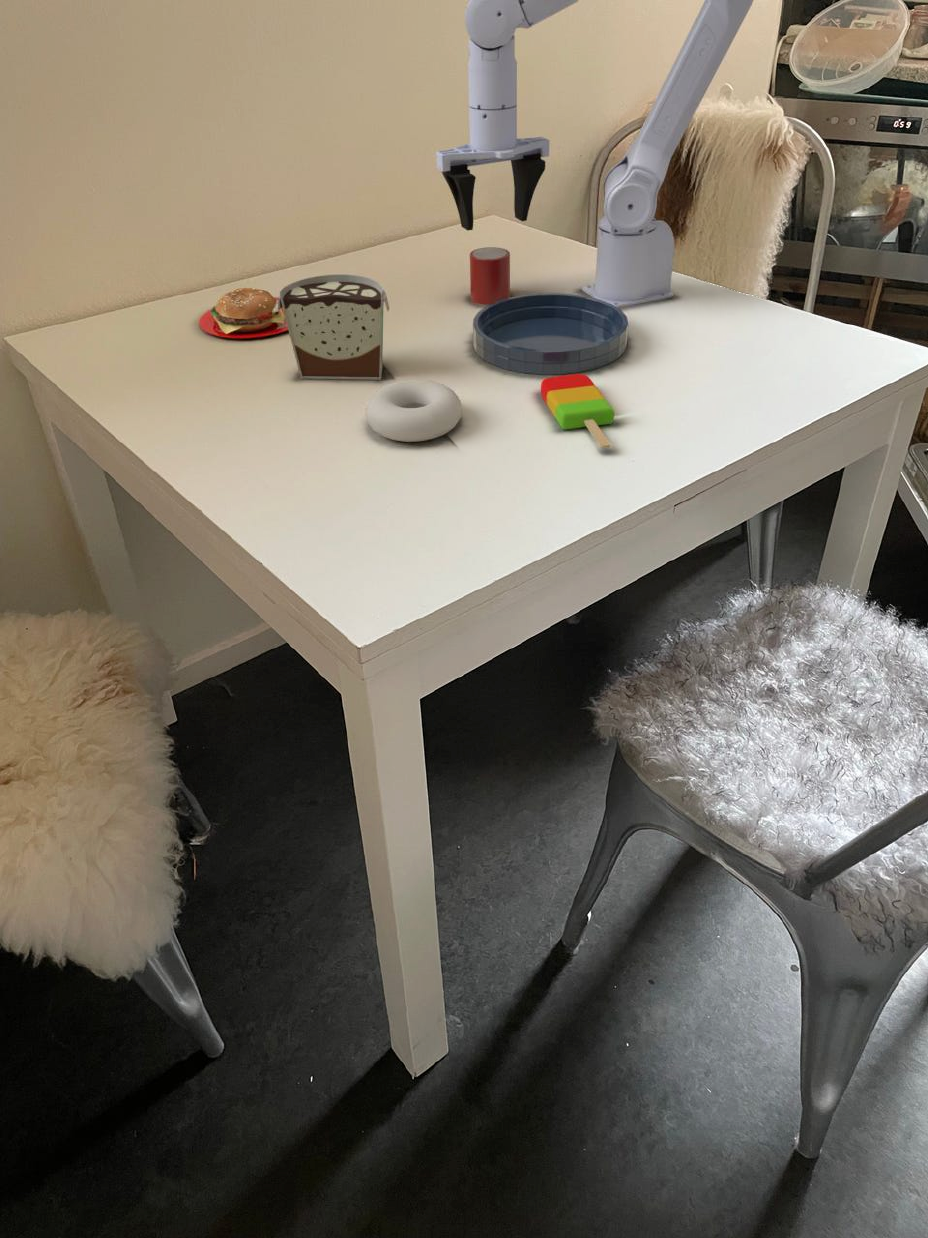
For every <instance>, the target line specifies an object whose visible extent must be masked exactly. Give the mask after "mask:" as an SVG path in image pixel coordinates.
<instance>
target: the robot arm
mask: <svg viewBox="0 0 928 1238" xmlns="http://www.w3.org/2000/svg"><path fill="white" fill-rule="evenodd" d="M577 2H579V0H469V1H468V3H467V6H466V8H465V13H464V25H465V29H466V32H467V35H468V36H469V39H468V41H469V42H468V47H467V50H468V51H467V53H468V55H469V61H468V63H467V79H468V80H467V81H468V113H469V114H468V115H469V118H468V119H469V143H468V144H463V145H460V146H456V147H452V148H448V149H443V150H437V151H435V161H436V162H435V163H436V164H435V165H436V169H437V170H438V171H441V174H442V176H443V178H444V180H445V181H446V183H447V185H448V188H449V190H450V192H451V194H452V197H453V199H454V202H455V205H456V209H457V212H458V215H459V222H460V226H461V227H462V228H463V229H464V230H466V231H473V230H474V192H475V191H474V190H475V183H476V179H477V177H476V176H475V175H474V174H472V173H471V170H470V169H469V167H474V166H475V167H476V166H481V165H489V164H495V163H502V162H508V161H510V163H511V168H512V170H511V171H512V176H513V177H512V178H513V186H514V188H513V189H514V191H513V192H514V196H513V197H514V198H513V201H514V202H513V209H514V211H513V212H514V218H515V219H517V220H519V221H521V222H526V221H528V215H529V212H530V207H531V203H532V199H533V196H534V194H535V191H536V188H537V186H538V184H539V181H540V179H541V177H542V176H543V174H544V173H545V171H546V160H544V159H543V158H546V157H549V156H550V139H549V138H546V137H544V136H537V137H522V138H520V137H519V138H518V105H517V104H518V61H517V59H516V57H515V56H516V36H515V33H516V31H517V29H525V30H528V29H530V28H532V27H533V26H536V25H537V24H539V23H541V22H543V21H544V20H546V19H548V18H551V17H552V16H554V15H556V14H558V13H560V12H562V11H563V10H565V9H567V8H569V7H571V6H572V5H575V4H577ZM753 3H754V0H704V1H703V4H702V6H701V7H700V10H699V12H698V13H697V15H696V18H695V19H694V21H693V24H692V26H691V28H690V30H689V31H688V34H687V36H686V37H685V40H684V42H683V44H682V46H681V48H680V50H679V52H678V54H677V56H676V58H675V59H674V61H673V64H672V66H671V67H670V70H669V72H668V74H667V76H666V78H665V80H664V82H663V84H662V85H661V88H660V90H659V92H658V94H657V96H656V98H655V100H654V102H653V104H652V105H651V108H650V109H649V112H648V114H647V116H646V117H645V121H644V122H643V124H642V126H641V128H640V130H639V132H638V134H637V136H636V137H635V139H634V140H633V141H632V143H631V144H630V145H629V146H628V148H627V150H626V152H625V154H624V156H623V158H622V159H621V160H620V161H619V162H617V163H616V164H615V165H613V166H612V167H611V168H610V169H609V170H608V172H607V174H606V176H605V178H604V181H603V185H602V188H603V197H604V204H603V210H604V211H603V212H604V215H603V216H602V217H601V218H600V219H599V220H598V228H597V229H598V230H597V245H596V246H597V247H596V251H597V252H596V265H595V281H594V282H595V284H591V285H584V286H582V289H581V290H582V292H584V293H585V294H587V295H588V296H589V297H591V298H595V299H599V300H602V301H605V302H607V303H610V304H612V305H614V306H616V307H617V308H619V309H620V308H624V307H628V306H634V305H638V304H639V305H640V304H643V303H649V302H653V301H659V300H664V299H669V298H673V297H674V293H673V292H672V291H671V285H672V276H673V267H674V266H673V265H674V258H675V238H674V233H673V230H672V228H671V227H670V225H669V224H668V223H667V222H666V221H664V220H659V219H658V220H657V219H656V217H655V215H656V211H657V207H658V195H659V191H660V189H661V187H662V185H663V183H664V181H665V178H666V175H667V172H668V170H669V166H670V162H671V159H672V157H673V155H674V153H675V152H676V150H677V147H678V145H679V144H680V142H681V140H682V138H683V136H684V134H685V132H686V131H687V129H688V127H689V125H690V123H691V122H692V119H693V117H694V115H695V113H696V112H697V110H698V108H699V106H700V104H701V103H702V100H703V98H704V96H705V95H706V92H707V91H708V88H710V87H709V86H710V85H711V83H712V82H713V79H714V77H715V75H716V73H717V72H718V69H719V68H720V66H721V64H722V62H723V61H724V59H725V56H726V54H727V52H728V51H729V49H730V47H731V45H732V43H733V42H734V40H735V38H736V35H737V34H738V31H739V30H740V28H741V27H742V24H743V23H744V20H745V19H746V16H747V15H748V13H749V11H750V10H751V7H752V6H753Z"/></svg>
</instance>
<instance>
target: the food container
mask: <svg viewBox="0 0 928 1238" xmlns="http://www.w3.org/2000/svg"><path fill="white" fill-rule="evenodd" d="M277 298H278V310H280V309H281V308H282V307H283V310H284V314H285V318H286V322H287V326H288V330H287V331H288V334H289V338H290V342H291V346H292V349H293V355H294V358H295V362H296V366H297V369H298V373H299V378H300V379H302V380H303V379H304V380H358V381H359V380H362V381H363V380H364V381H365V380H366V381H367V380H368V381H369V380H370V381H372V380H373V381H382V379H383V351H384V350H383V349H384V347H383V345H384V344H383V342H384V305H385V308H386V311H387V312H389V311H390V304H389V300H388V298H387V294H386V291H385V290H384V288H383V285H382V284H381V283H380V282H379V281H377V280H375V279H373V278H370V277H367V276H363V275H358V274H348V273H347V274H346V273H345V274H344V273H343V274H342V273H338V274H337V273H336V274H335V273H334V274H333V273H332V274H323V275H322V274H321V275H316V276H310V277H306V278H302V279H299V280H296V281H293V282H291V283H288V284H287V285H286V286H284V287H282V288H281V289H280V290H279V296H278V297H277Z"/></svg>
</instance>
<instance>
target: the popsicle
mask: <svg viewBox="0 0 928 1238" xmlns="http://www.w3.org/2000/svg"><path fill="white" fill-rule="evenodd" d="M540 396H541V398H542V399H543V401H544V402H545V403H546V405H547V407H548V409H549V410H550V412H551V413H552V415H553V417H554V418H555V419H556V421H557V423H558V424H559V426H560V428H561V429H562V430H564V431H565V430H571V429H572V430H573V429H581V428H587V430H588V431H589V432H590V434H591V436H592V437H593V438H594V440H595V441H596V443H597V444H598V446H599V447H600V449H609V448H610V447H611V443H610V441H609V440H608V438H607V437H606V436H605V434H604V433H603V431H602V429H601V428H600V426H603V425H611V424H613V423H614V420H615V410H614V409H613V407H612V405H610V403H609V402H608V400H606V398H605V397H604V395H603V394H602V392H601V391H600V390H599V389H598V387H597V386H596V384H595V383H594V382H593V380H592V379H591V378H590V377H589V376H587V374H583V373H571V374H563V375H558V376H549V377H546V378H543V380H542V381H541V384H540Z"/></svg>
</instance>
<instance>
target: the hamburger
mask: <svg viewBox="0 0 928 1238" xmlns="http://www.w3.org/2000/svg"><path fill="white" fill-rule="evenodd" d="M198 320H199V321H198V325H199V327H200V328H201V330H203V331H204V332H205V333H207V334H210V335H212V336H216V337H220V338H229V339H251V338H261V337H267V336H271V335H277V334H280V333H283V332H287V331H289V330H288V326H287V322H286V318H285V314H284V310H283V307H282V308H281V309H280V310H278V297H277V296H276V297H275V296H273V295H272V294H271V293H270V292H269V291H268V290H266V289H258V288H253V287H246V286H245V287H240V288H235V289H231V291H228V292H226V293H224V294H223V295H221V296H220V297H219V298H218V299H217V303H216V304H215V306H213V307H212V308H210V309H209V310H207V311H206V312H205V313H203V315H202V314H201V316H200V318H199V319H198Z"/></svg>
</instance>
